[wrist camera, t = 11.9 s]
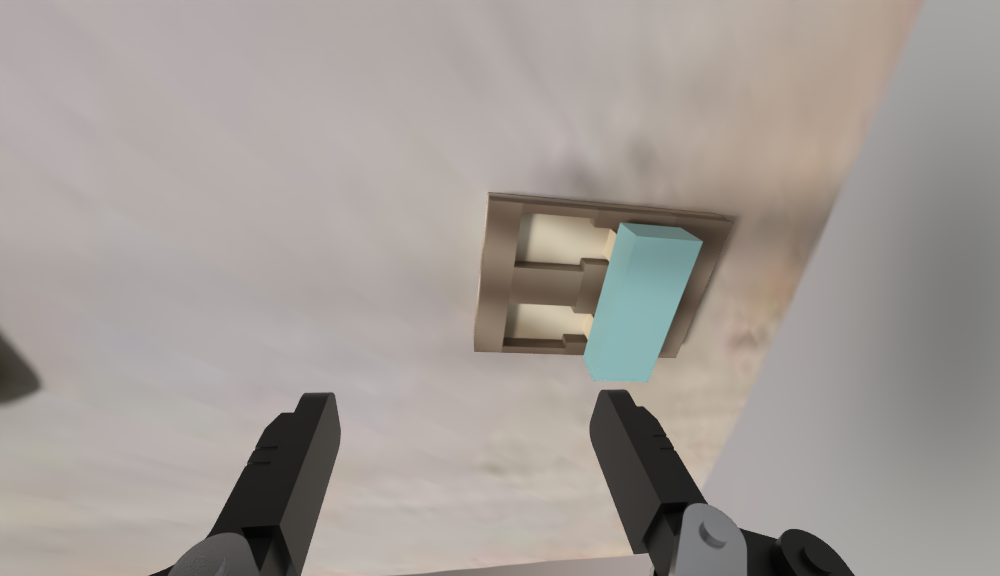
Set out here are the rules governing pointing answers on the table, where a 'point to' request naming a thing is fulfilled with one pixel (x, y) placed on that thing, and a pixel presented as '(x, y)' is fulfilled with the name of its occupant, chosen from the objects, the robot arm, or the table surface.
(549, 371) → the table surface
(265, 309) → the table surface
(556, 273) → the slot board
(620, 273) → the panel
